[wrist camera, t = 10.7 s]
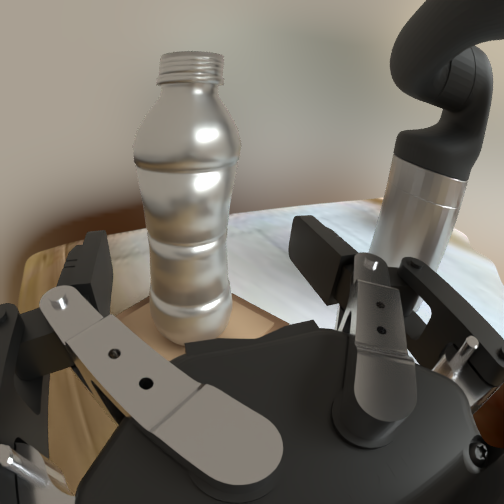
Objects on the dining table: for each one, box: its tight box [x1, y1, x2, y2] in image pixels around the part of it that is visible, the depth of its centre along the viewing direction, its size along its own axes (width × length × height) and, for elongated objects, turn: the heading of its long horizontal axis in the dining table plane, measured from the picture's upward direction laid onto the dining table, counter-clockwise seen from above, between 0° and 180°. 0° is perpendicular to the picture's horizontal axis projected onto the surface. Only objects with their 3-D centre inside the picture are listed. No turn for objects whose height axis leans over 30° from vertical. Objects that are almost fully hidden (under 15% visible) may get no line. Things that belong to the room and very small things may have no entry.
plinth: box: [115, 293, 289, 361], centre depth 24 cm, size 12×12×3 cm
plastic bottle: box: [133, 51, 241, 346], centre depth 18 cm, size 6×7×20 cm
